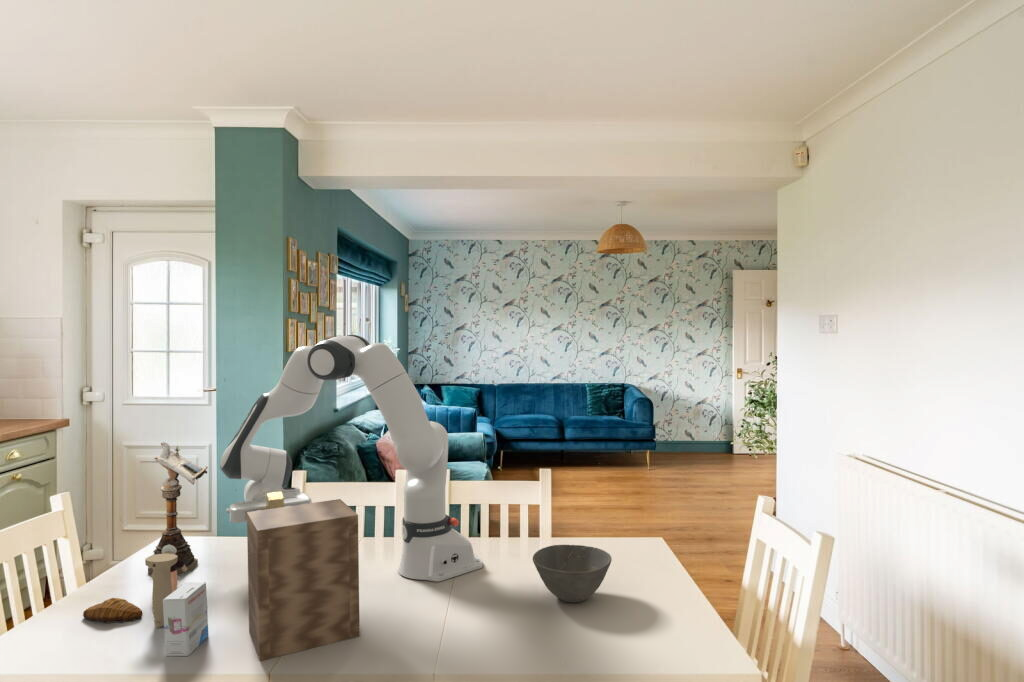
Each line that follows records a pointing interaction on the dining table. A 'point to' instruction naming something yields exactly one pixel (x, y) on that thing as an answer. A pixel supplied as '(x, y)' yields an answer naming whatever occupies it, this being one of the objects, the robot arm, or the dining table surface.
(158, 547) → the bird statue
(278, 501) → the brass bar
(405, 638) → the dining table surface
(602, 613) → the dining table surface
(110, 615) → the croissant
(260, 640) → the walnut stand
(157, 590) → the handle
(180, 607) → the ink box
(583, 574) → the bowl
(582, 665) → the dining table surface
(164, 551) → the grandmother figurine
